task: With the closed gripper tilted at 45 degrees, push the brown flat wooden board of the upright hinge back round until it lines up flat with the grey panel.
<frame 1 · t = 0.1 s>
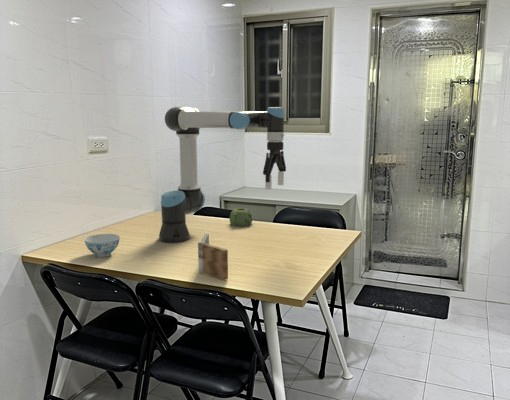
hand: (274, 187, 219), 28 cm above the table, fingers open, 13 cm apart
brown flat wooden board: (212, 260, 182), point 6 cm above the table, hinge at 50.0°
chinaware: (103, 255, 210), on the table
green round pot: (239, 225, 263), on the table
hinge panel: (202, 272, 187), on the table
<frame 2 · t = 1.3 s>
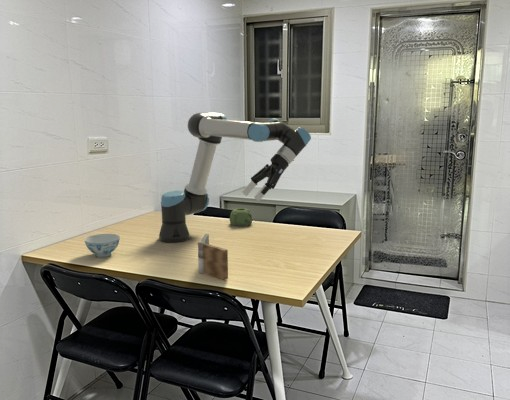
hand: (250, 196, 195), 28 cm above the table, fingers open, 13 cm apart
nothing on the table moved.
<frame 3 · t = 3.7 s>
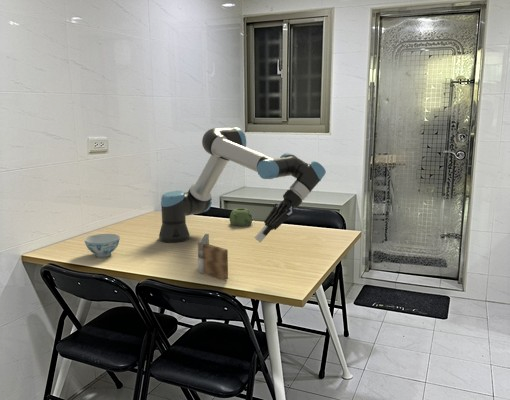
hand: (257, 240, 183), 14 cm above the table, fingers closed
nothing on the table moved.
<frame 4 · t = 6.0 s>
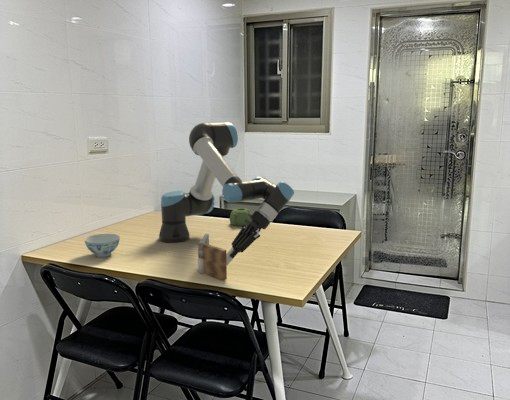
hand: (224, 262, 180), 6 cm above the table, fingers closed
brown flat wooden board: (211, 260, 182), point 6 cm above the table, hinge at 47.2°, touching gripper
everything else where it was.
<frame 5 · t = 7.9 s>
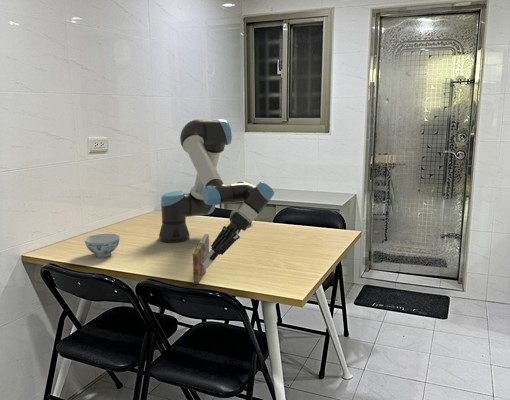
hand: (204, 265, 177), 6 cm above the table, fingers closed
brown flat wooden board: (199, 261, 180), point 6 cm above the table, hinge at -1.3°, touching gripper
everything else where it was.
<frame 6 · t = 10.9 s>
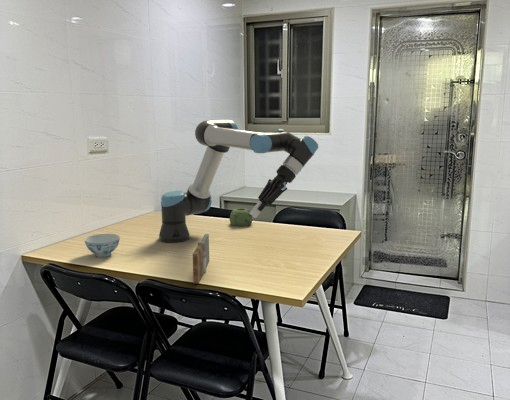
hand: (252, 215, 185), 22 cm above the table, fingers closed
brown flat wooden board: (199, 261, 180), point 6 cm above the table, hinge at -1.5°
everything else where it was.
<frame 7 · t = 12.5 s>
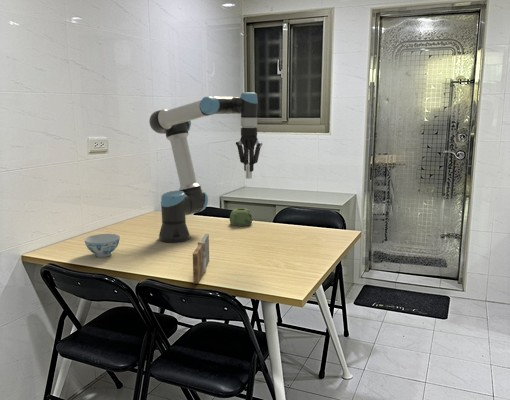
hand: (248, 178, 219), 32 cm above the table, fingers closed
nothing on the table moved.
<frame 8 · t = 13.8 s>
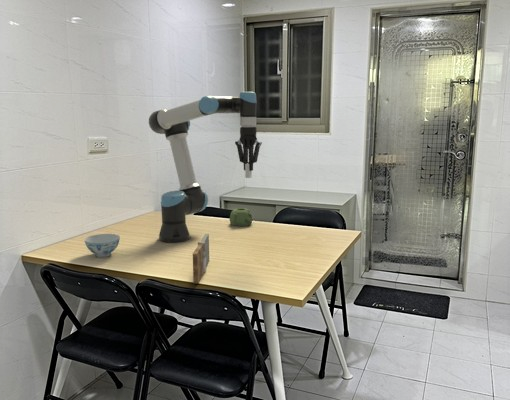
hand: (248, 177, 219), 32 cm above the table, fingers closed
nothing on the table moved.
at the end: brown flat wooden board at -2° (first picture: +50°) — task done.
